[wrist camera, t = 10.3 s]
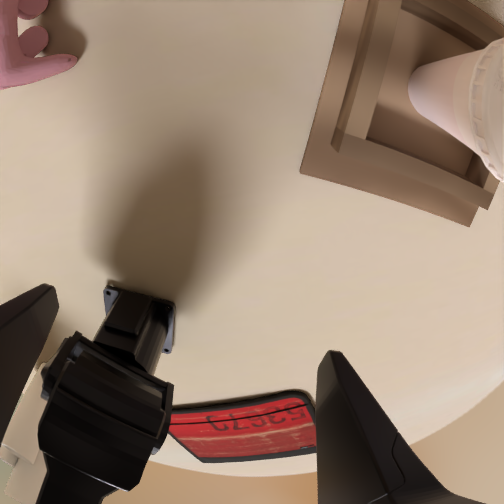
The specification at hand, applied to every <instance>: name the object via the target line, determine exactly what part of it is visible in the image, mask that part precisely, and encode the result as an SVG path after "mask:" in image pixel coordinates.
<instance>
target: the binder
mask: <svg viewBox="0 0 504 504" xmlns="http://www.w3.org/2000/svg"><path fill="white" fill-rule="evenodd" d="M168 434H169V435H171V436H172V437H173V438H174V439H175V440H176V441H177V442H178V443H179V444H180V445H181V446H183V447H184V448H185V449H186V450H187V451H188V452H190V453H191V454H192V455H193V456H194V457H196V458H197V459H198V460H200V461H201V462H202V463H225V462H243V461H254V460H265V459H275V458H284V457H292V456H299V455H306V454H312V453H317V448H316V425H315V408H314V407H313V405H312V404H311V402H310V399H308V397H307V396H306V394H304V393H303V392H300V391H285V392H281V393H278V394H274V395H269V396H265V397H261V398H256V399H253V400H245V401H240V402H235V403H229V404H222V405H216V406H208V407H201V408H192V409H172V413H171V423H170V427H169V431H168Z"/></svg>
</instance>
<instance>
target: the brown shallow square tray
mask: <svg viewBox="0 0 504 504" xmlns="http://www.w3.org/2000/svg"><path fill="white" fill-rule="evenodd" d="M501 38H504V26H503V25H501V24H500V23H499V22H497V21H496V20H495V19H493V18H492V17H491V16H489V15H488V14H486V13H485V12H484V11H482V10H481V9H479V8H478V7H476V6H475V5H473V4H472V3H470V2H469V1H467V0H345V1H344V5H343V9H342V13H341V17H340V21H339V25H338V29H337V33H336V37H335V41H334V45H333V49H332V53H331V57H330V61H329V64H328V68H327V72H326V76H325V80H324V84H323V87H322V91H321V95H320V98H319V102H318V106H317V110H316V113H315V117H314V121H313V124H312V128H311V132H310V135H309V139H308V142H307V146H306V150H305V153H304V157H303V160H302V164H301V167H300V174H304V175H308V176H312V177H316V178H320V179H323V180H327V181H331V182H334V183H338V184H341V185H345V186H348V187H352V188H355V189H359V190H362V191H365V192H369V193H372V194H375V195H378V196H382V197H385V198H388V199H391V200H394V201H397V202H400V203H403V204H406V205H409V206H412V207H415V208H418V209H421V210H424V211H427V212H429V213H432V214H435V215H438V216H441V217H443V218H446V219H449V220H451V221H454V222H457V223H459V224H462V225H465V226H467V227H470V225H471V223H472V221H473V218H474V216H475V214H476V212H477V210H478V207H479V206H480V207H482V208H484V209H486V210H488V208H489V206H490V204H491V201H492V199H493V196H494V194H495V192H496V189H497V187H498V184H499V182H500V180H498V179H497V178H495V176H494V175H493V174H492V173H491V172H490V171H489V170H488V169H487V168H486V166H485V165H484V163H483V161H482V159H481V157H480V156H479V155H478V154H476V153H475V152H474V151H473V150H472V149H470V148H469V147H468V146H466V145H465V144H464V143H462V142H461V141H459V140H458V139H457V138H455V137H454V136H452V135H451V134H450V133H448V132H447V131H445V130H444V129H442V128H441V127H439V126H438V125H436V124H435V123H433V122H432V121H430V120H429V119H427V118H425V117H424V116H422V115H421V114H420V113H418V112H417V110H416V109H415V108H414V106H413V105H412V103H411V101H410V98H409V93H408V83H409V79H410V77H411V75H412V73H413V72H414V71H415V70H416V69H417V68H418V67H420V66H423V65H426V64H429V63H433V62H436V61H440V60H443V59H447V58H451V57H454V56H458V55H462V54H466V53H470V52H474V51H478V50H482V49H485V48H486V47H487V46H488V45H489V44H490V43H491V42H493V41H496V40H498V39H501Z"/></svg>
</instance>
